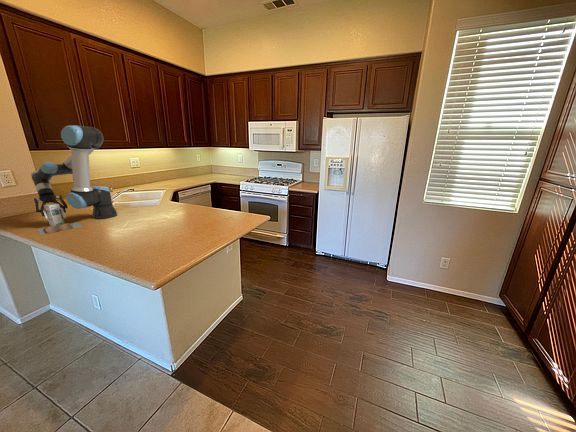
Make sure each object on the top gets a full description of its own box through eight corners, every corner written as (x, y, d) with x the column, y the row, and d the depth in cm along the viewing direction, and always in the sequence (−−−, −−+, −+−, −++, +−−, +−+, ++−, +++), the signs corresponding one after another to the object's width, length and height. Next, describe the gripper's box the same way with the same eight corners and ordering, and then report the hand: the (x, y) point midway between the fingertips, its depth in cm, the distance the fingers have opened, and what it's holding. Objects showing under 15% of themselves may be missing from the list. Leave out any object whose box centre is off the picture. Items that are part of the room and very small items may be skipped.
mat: (77, 222, 166) (77, 222, 166) (82, 227, 157) (82, 226, 157) (37, 230, 151) (37, 229, 151) (40, 235, 142) (40, 234, 142)
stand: (69, 224, 160) (68, 222, 160) (73, 228, 153) (72, 226, 153) (44, 229, 151) (43, 227, 151) (47, 233, 144) (46, 231, 144)
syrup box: (55, 226, 157) (48, 205, 153) (49, 225, 159) (43, 204, 155) (65, 224, 162) (59, 203, 158) (59, 223, 164) (54, 202, 160)
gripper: (65, 192, 172) (76, 217, 167) (23, 196, 156) (34, 225, 151) (65, 185, 167) (76, 211, 162) (22, 189, 152) (33, 218, 147)
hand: (56, 218), depth 157 cm, fingers open, 8 cm apart
